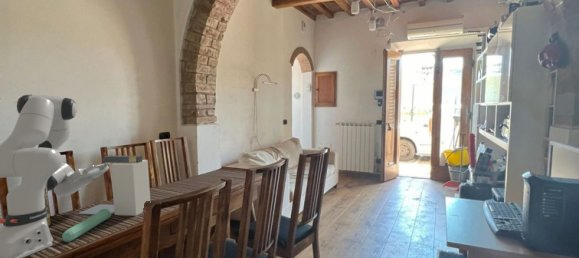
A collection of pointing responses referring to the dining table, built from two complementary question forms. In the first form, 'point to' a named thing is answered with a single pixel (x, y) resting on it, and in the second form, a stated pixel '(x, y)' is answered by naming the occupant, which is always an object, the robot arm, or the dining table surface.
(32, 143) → the robot arm
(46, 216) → the paper tube
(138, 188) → the pedestal
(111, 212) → the mat
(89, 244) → the dining table surface
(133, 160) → the strut
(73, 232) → the mint green rounded rod
